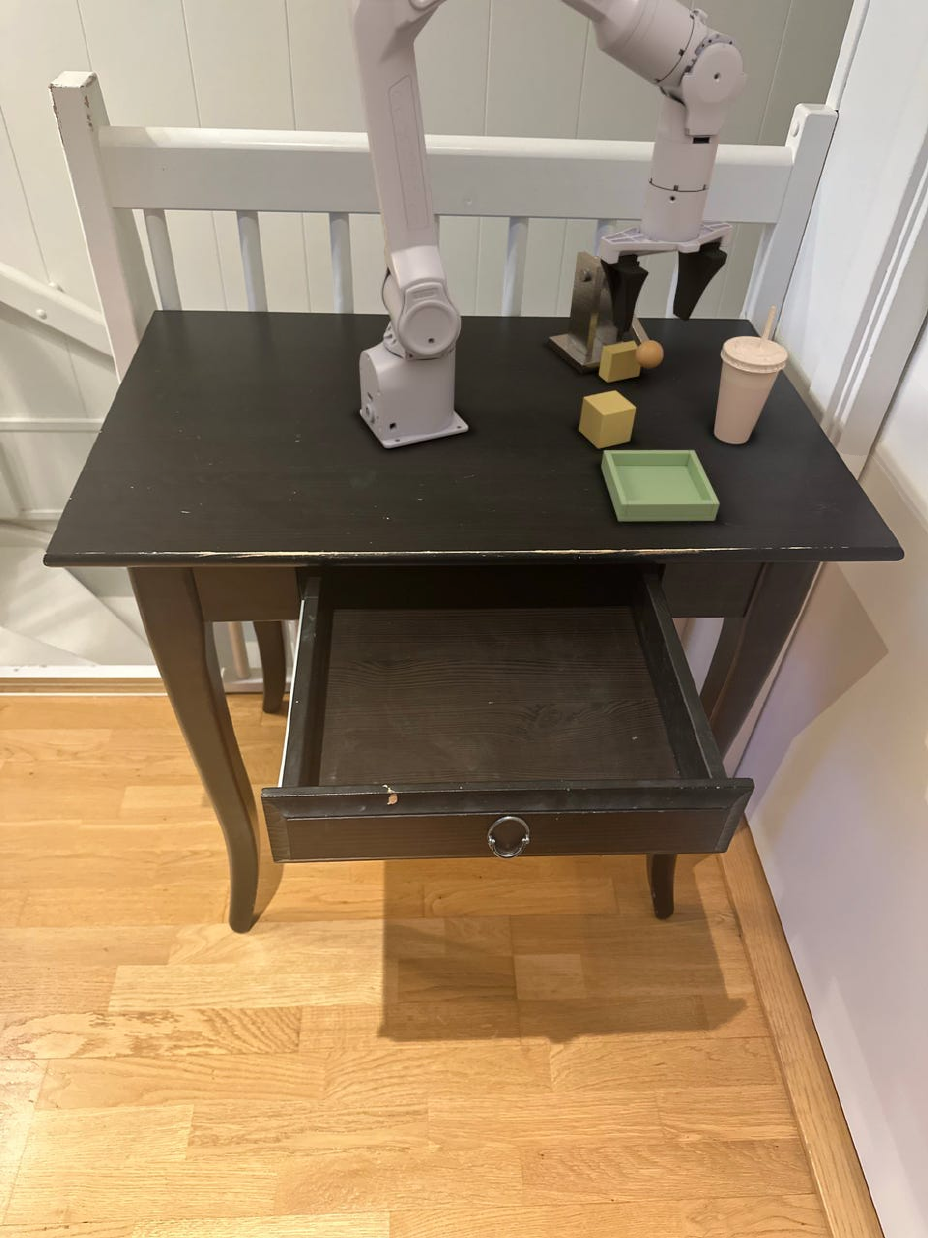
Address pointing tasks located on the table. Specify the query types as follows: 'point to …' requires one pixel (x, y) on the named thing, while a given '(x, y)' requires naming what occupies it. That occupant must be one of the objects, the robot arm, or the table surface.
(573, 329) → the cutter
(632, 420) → the yellow cube
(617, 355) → the butter block
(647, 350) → the cutter lever
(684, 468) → the dish
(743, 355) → the smoothie
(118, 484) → the table surface
